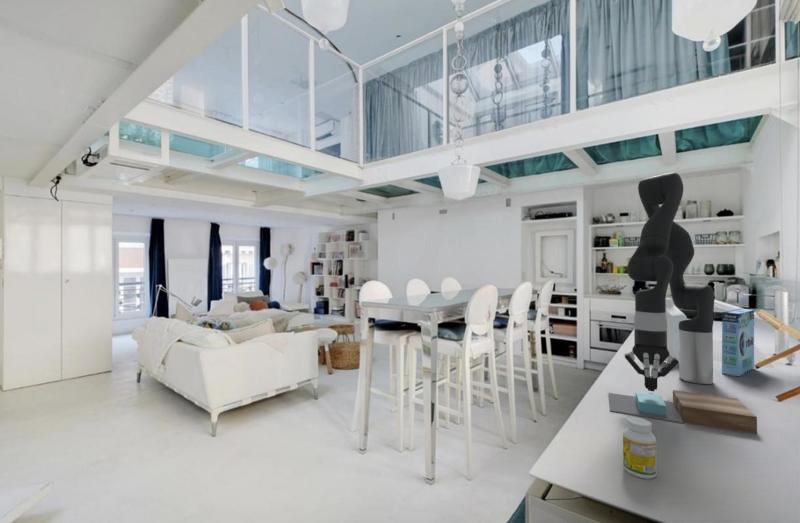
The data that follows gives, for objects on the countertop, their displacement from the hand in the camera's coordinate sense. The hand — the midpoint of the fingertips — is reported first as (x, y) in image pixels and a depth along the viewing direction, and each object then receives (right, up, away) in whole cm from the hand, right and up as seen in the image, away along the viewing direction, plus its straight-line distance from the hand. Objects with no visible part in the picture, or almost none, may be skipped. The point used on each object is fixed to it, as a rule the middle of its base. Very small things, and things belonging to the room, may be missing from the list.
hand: (650, 390), depth 102 cm
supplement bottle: (-24, -5, -32) cm, 40 cm away
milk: (+44, -6, +54) cm, 69 cm away
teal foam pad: (0, -3, 0) cm, 4 cm away
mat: (-2, -5, +1) cm, 5 cm away
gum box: (+58, -6, +37) cm, 69 cm away
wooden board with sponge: (+11, -5, -6) cm, 14 cm away
